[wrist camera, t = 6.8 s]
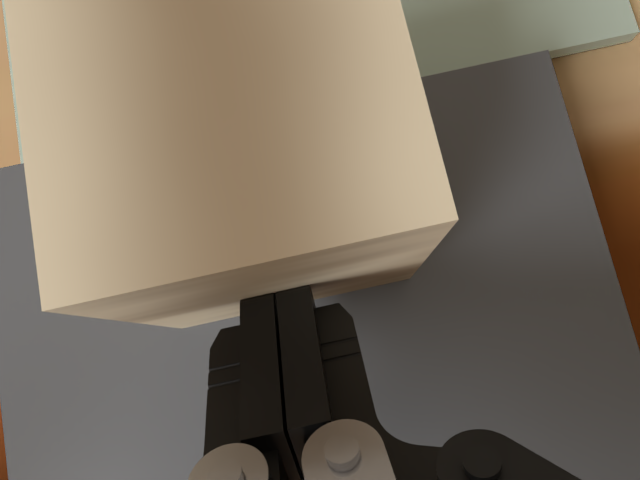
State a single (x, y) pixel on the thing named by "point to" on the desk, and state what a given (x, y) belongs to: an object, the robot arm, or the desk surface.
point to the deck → (373, 318)
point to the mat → (497, 31)
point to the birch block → (221, 152)
